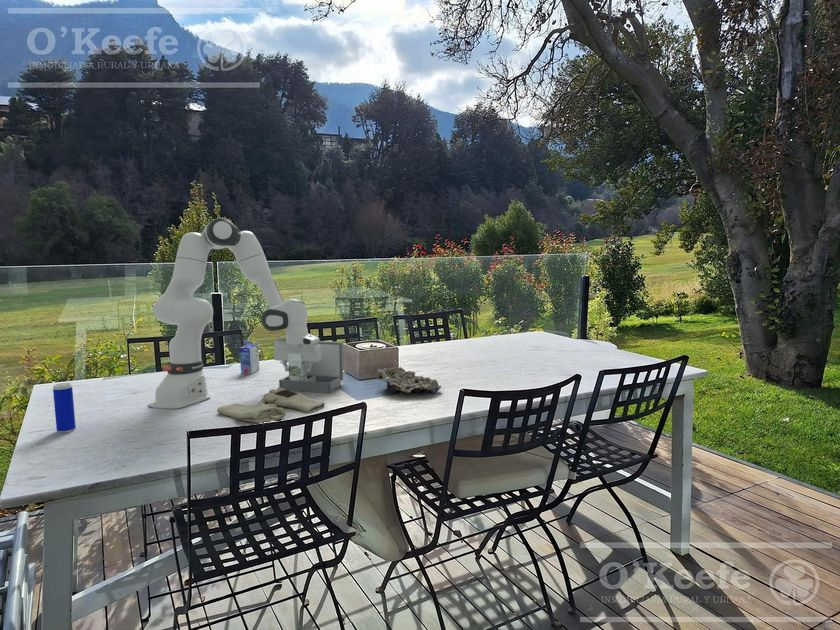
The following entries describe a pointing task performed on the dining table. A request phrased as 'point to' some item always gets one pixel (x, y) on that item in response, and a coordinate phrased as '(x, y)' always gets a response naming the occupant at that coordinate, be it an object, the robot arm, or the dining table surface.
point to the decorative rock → (406, 380)
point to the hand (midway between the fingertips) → (298, 371)
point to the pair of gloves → (271, 406)
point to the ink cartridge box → (249, 358)
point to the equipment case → (321, 371)
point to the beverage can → (64, 407)
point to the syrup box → (297, 367)
